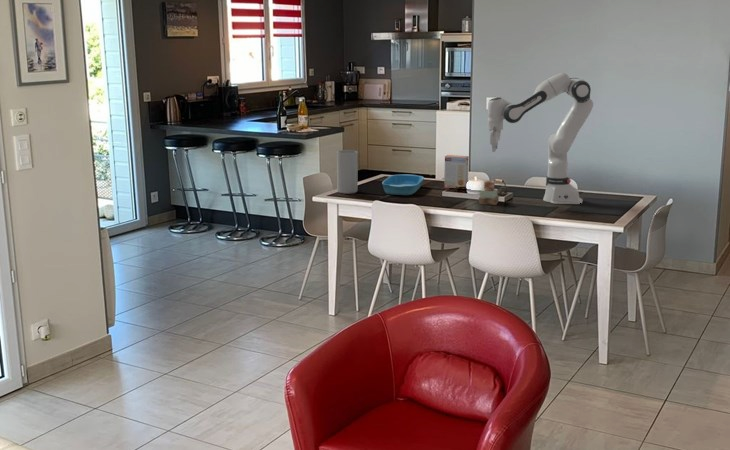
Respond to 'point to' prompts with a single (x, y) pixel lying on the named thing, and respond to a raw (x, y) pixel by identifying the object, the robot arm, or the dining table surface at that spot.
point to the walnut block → (489, 200)
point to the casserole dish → (402, 184)
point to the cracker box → (456, 171)
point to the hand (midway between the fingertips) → (494, 150)
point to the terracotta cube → (489, 185)
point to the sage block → (488, 193)
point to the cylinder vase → (347, 171)
